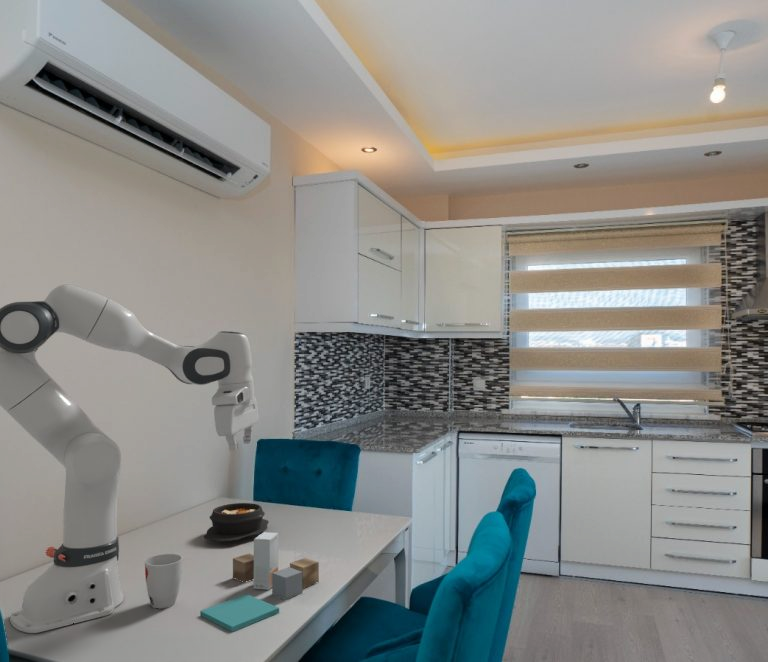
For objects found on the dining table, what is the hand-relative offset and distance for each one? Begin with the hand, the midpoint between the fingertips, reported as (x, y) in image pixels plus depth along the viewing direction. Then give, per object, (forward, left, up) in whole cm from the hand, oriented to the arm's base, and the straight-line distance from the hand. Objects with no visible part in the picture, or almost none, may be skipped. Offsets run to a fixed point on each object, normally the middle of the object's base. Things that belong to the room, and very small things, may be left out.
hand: (241, 446), depth 154 cm
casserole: (+20, +31, -33) cm, 50 cm away
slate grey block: (0, -18, -33) cm, 38 cm away
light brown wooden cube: (+7, -16, -33) cm, 37 cm away
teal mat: (-14, -19, -33) cm, 40 cm away
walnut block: (0, -2, -33) cm, 33 cm away
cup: (-22, -1, -33) cm, 39 cm away
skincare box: (0, -10, -33) cm, 34 cm away
